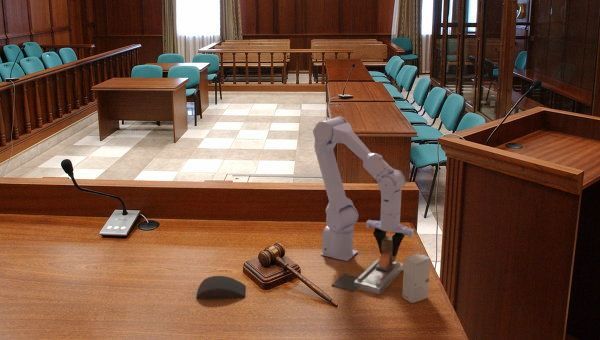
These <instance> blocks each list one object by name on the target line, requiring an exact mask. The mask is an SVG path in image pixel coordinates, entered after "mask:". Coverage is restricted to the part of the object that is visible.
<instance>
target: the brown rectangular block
mask: <svg viewBox="0 0 600 340" xmlns="http://www.w3.org/2000/svg"><path fill="white" fill-rule="evenodd" d="M392 252H393V241H392V236H390V235H386V237H384V238H383V239H382V247H381V253H380V254H381V255H382V254H383V253H386V254H390V260H389V263H390V264H392V263H393V262H396V261H397V255H396V256H395V257H394V256H393V254H392ZM381 255H380V256H381Z"/></svg>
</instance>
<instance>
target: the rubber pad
mask: <svg viewBox="0 0 600 340" xmlns="http://www.w3.org/2000/svg"><path fill="white" fill-rule="evenodd" d="M358 277H359V276H356V275H352V274H347V273H343V274H341V276H340V277H339V278H337V279H336V280H335V281H334V282H333V283H332V284H331V287H334V288H338V289H342V290H346V291H349V292H353V293H354V292H355V291H356V290H358V289H357V288H356V287H354V281H355V280H356V279H357V278H358Z"/></svg>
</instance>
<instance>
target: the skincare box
mask: <svg viewBox="0 0 600 340" xmlns="http://www.w3.org/2000/svg"><path fill="white" fill-rule="evenodd" d="M403 260H404V262H403V264H404V265H403V279H402V298H403V299H404V300H406V301H408V302H409V303H411V304H414V303H417V302H420V301H423V300H426V299H427V298H428V297H429V283H430V270H431V269H430V268H431V267H430V266H431V257H429V256H427V255H425V254H423V253H421V252H420V253H416V254H411V255H409V256H406V257H404V259H403Z"/></svg>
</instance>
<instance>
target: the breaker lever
mask: <svg viewBox="0 0 600 340" xmlns="http://www.w3.org/2000/svg"><path fill="white" fill-rule="evenodd" d="M378 258H379V263H378V264H377V265H376V266H375V268H377V269H381V270H385V271H388V270H389V269H390V268H391V267H392V266H393V264H390V263H389V260H390V254H386V253H383V254H382V255H379V257H378Z"/></svg>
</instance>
